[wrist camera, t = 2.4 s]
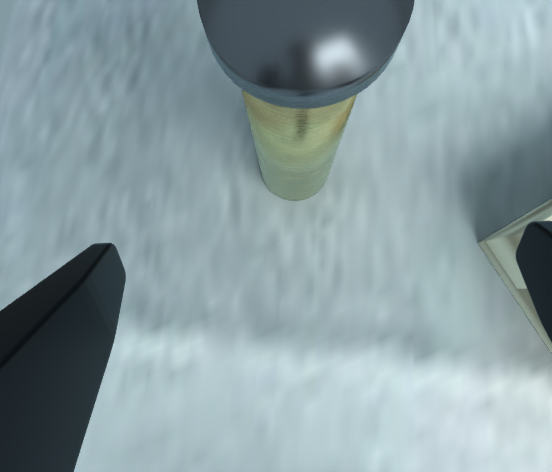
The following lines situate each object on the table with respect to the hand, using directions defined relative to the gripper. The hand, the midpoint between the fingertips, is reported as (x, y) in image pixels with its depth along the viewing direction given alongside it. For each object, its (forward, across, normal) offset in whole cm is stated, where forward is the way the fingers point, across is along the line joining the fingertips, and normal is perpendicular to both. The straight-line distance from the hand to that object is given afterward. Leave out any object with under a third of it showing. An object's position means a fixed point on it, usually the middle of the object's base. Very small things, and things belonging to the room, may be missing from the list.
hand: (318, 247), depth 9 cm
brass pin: (+12, 0, +5) cm, 13 cm away
